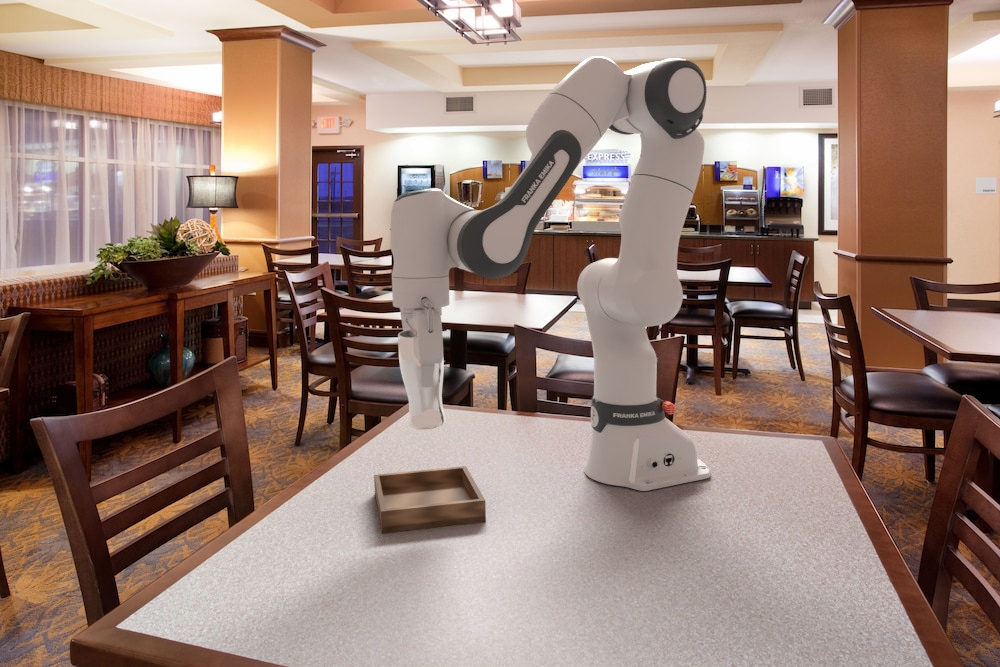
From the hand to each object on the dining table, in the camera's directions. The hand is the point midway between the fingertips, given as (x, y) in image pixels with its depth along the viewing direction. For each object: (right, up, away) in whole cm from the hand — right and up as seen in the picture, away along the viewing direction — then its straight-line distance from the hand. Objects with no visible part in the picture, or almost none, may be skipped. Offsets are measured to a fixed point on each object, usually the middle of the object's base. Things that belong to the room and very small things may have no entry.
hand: (423, 381), depth 115 cm
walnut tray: (0, -21, +3) cm, 21 cm away
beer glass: (0, -7, +2) cm, 7 cm away
